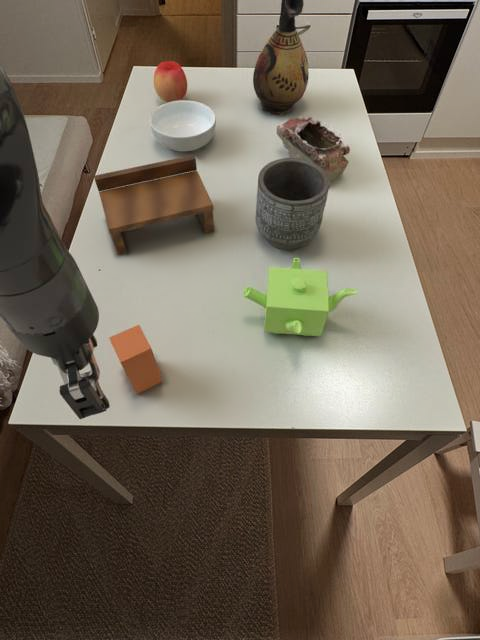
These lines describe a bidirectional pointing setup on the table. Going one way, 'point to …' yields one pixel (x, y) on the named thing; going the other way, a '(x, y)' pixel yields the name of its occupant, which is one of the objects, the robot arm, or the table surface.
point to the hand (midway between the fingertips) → (94, 376)
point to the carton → (136, 358)
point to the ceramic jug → (282, 64)
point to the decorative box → (315, 144)
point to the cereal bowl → (183, 125)
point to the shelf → (153, 196)
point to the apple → (170, 81)
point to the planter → (291, 201)
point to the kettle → (296, 300)
